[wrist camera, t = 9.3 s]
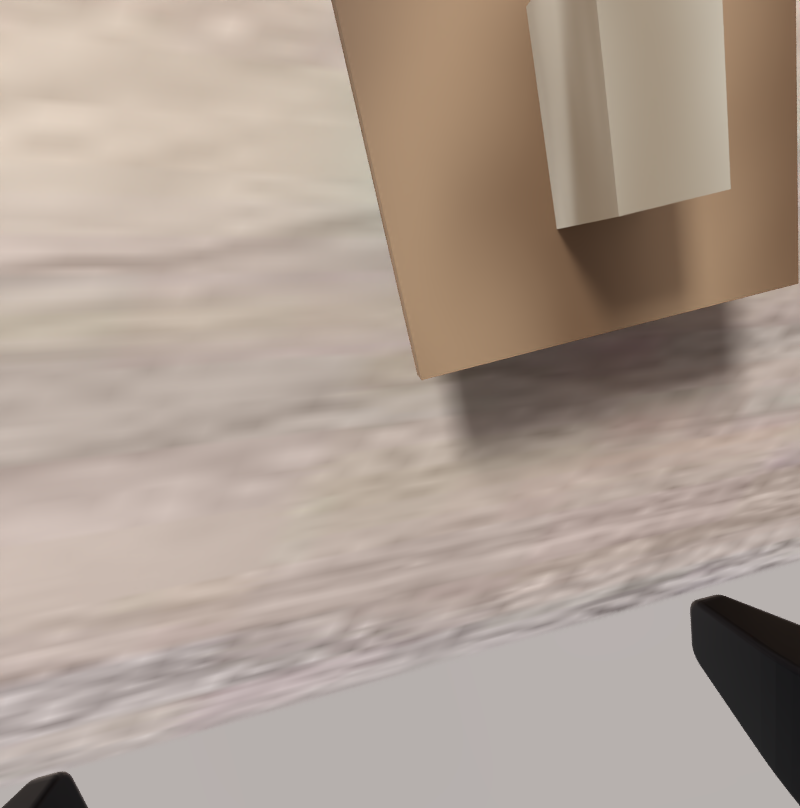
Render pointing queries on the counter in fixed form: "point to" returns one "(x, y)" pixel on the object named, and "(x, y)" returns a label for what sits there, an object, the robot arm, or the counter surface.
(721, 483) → the counter surface
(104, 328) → the counter surface
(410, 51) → the lid
